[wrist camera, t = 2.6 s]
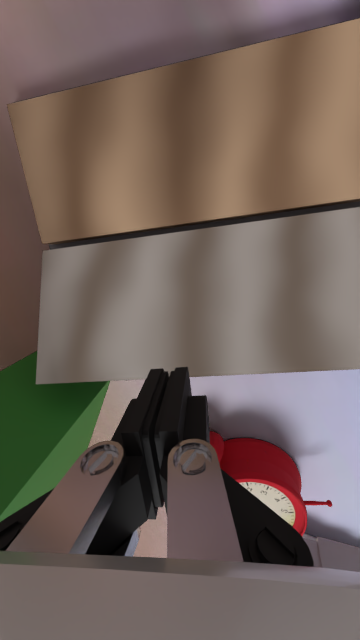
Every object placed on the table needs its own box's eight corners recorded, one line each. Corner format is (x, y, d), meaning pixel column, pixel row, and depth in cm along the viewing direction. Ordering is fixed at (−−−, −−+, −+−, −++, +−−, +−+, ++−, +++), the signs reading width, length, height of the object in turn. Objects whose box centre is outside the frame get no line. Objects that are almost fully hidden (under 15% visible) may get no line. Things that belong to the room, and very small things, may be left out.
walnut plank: (385, 32, 14) (406, 7, 12) (371, 199, 16) (388, 194, 15) (23, 117, 17) (6, 104, 16) (54, 244, 19) (42, 243, 18)
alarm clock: (292, 574, 22) (139, 562, 19) (263, 503, 28) (143, 486, 25) (350, 500, 19) (180, 473, 16) (305, 438, 25) (173, 410, 22)
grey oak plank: (373, 217, 16) (388, 202, 15) (406, 365, 14) (428, 365, 13) (55, 258, 19) (42, 250, 18) (50, 382, 18) (35, 384, 16)
